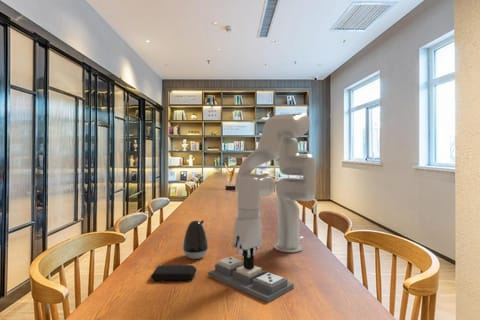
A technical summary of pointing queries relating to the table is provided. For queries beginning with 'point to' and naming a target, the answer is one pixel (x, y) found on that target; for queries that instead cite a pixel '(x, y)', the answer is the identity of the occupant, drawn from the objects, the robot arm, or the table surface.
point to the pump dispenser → (195, 241)
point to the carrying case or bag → (173, 273)
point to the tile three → (270, 279)
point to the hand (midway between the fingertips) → (248, 267)
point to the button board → (250, 283)
